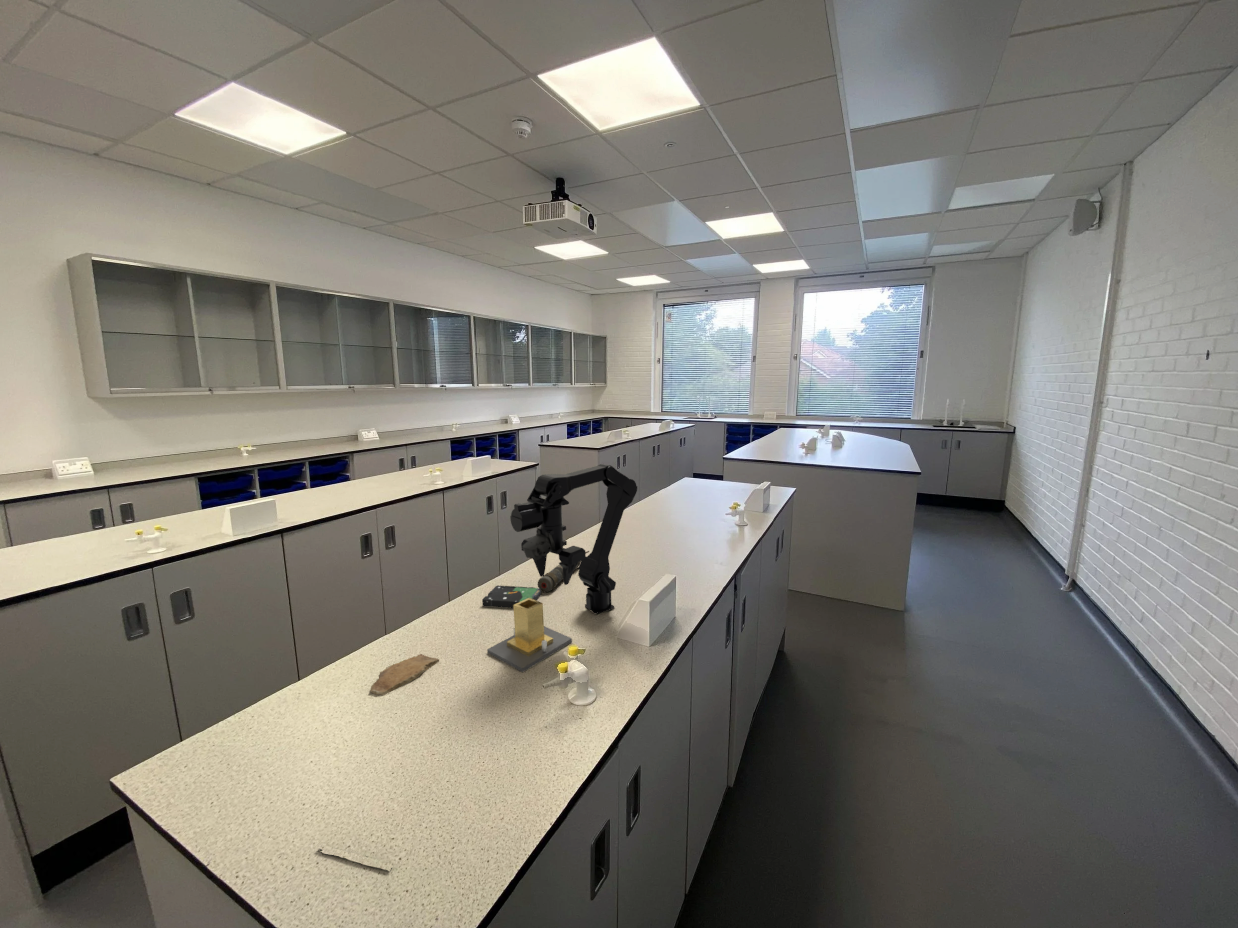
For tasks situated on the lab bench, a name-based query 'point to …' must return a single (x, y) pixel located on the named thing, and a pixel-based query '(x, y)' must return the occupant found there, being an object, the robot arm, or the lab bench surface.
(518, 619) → the brass sleeve
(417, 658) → the pottery shard
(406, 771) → the lab bench surface
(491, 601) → the disk drive
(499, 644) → the base plate
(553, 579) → the bomb
